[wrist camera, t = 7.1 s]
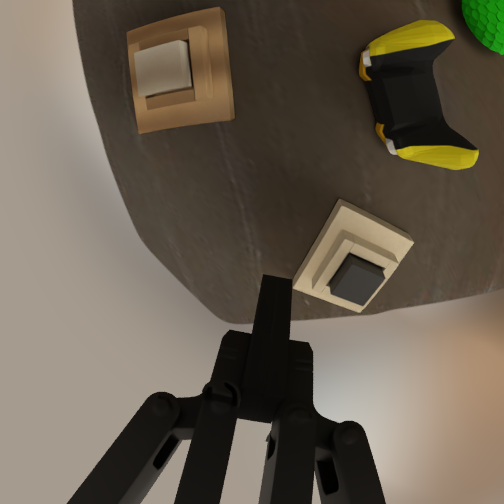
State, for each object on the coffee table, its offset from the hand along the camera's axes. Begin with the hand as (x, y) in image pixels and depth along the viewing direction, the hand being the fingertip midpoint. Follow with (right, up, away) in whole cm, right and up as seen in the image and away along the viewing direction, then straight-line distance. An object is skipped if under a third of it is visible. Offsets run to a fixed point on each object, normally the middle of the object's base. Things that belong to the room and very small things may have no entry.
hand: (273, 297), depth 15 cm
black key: (+10, 0, +15) cm, 18 cm away
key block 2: (+11, +2, +18) cm, 21 cm away
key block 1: (-8, +21, +9) cm, 24 cm away
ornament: (+24, +28, -1) cm, 36 cm away
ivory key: (-9, +19, +6) cm, 21 cm away
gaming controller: (+15, +18, +7) cm, 24 cm away
